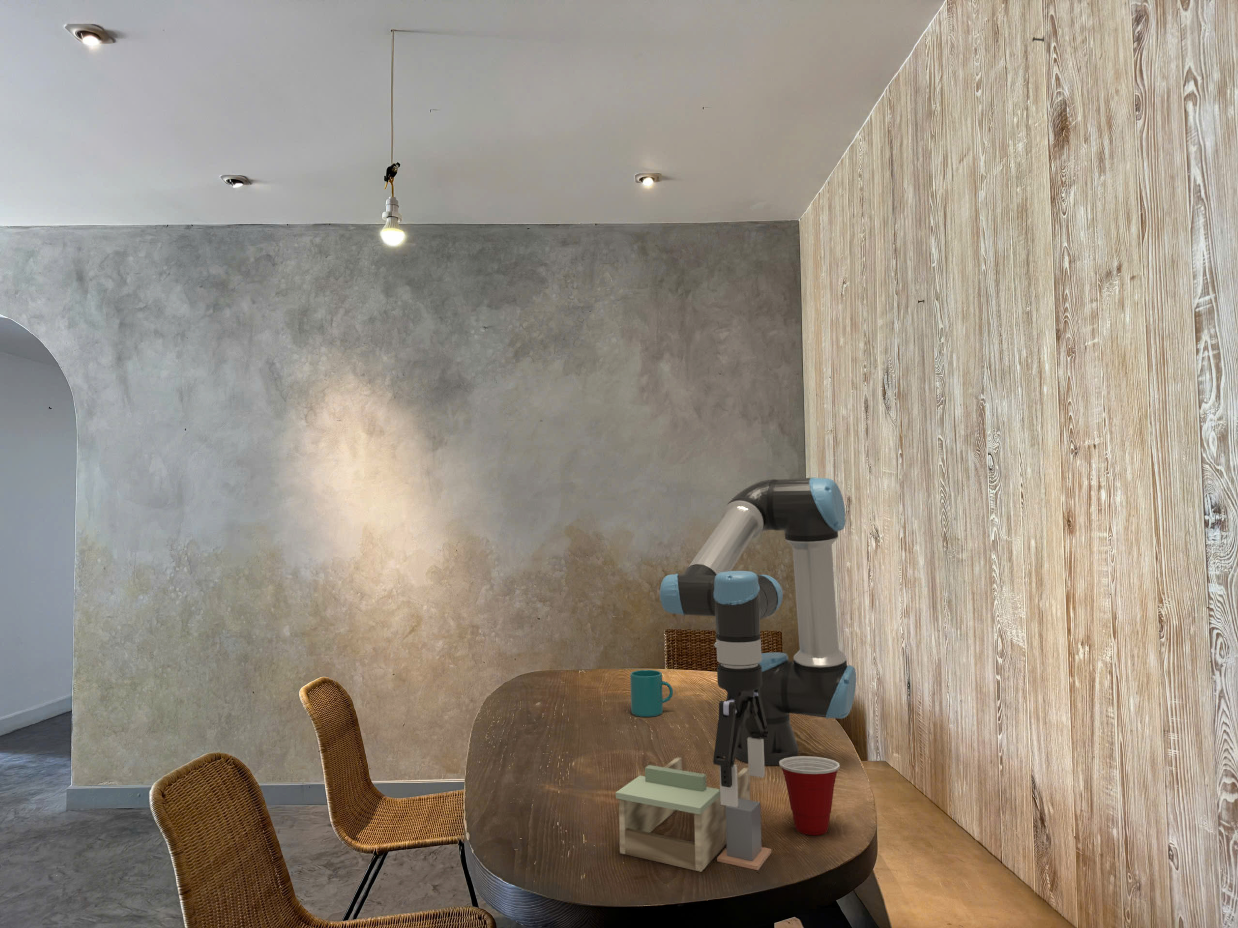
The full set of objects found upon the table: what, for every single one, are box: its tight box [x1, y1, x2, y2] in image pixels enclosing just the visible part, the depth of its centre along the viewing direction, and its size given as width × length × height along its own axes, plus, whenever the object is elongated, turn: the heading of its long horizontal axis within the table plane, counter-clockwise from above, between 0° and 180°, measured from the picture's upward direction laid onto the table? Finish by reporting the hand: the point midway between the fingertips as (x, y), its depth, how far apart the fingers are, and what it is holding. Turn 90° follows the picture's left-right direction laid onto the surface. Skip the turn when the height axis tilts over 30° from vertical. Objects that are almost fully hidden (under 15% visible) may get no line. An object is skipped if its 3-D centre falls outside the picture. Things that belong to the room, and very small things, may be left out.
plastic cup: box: [778, 755, 841, 836], centre depth 140 cm, size 11×11×12 cm
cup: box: [629, 669, 674, 718], centre depth 218 cm, size 9×12×11 cm
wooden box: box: [618, 756, 751, 872], centre depth 138 cm, size 24×15×9 cm, turn 151°
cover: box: [615, 764, 720, 814], centre depth 132 cm, size 9×16×3 cm, turn 61°
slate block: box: [726, 798, 763, 861], centre depth 129 cm, size 4×4×8 cm
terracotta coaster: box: [716, 846, 772, 871], centre depth 129 cm, size 7×7×1 cm
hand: (743, 789), depth 130 cm, fingers open, 13 cm apart
